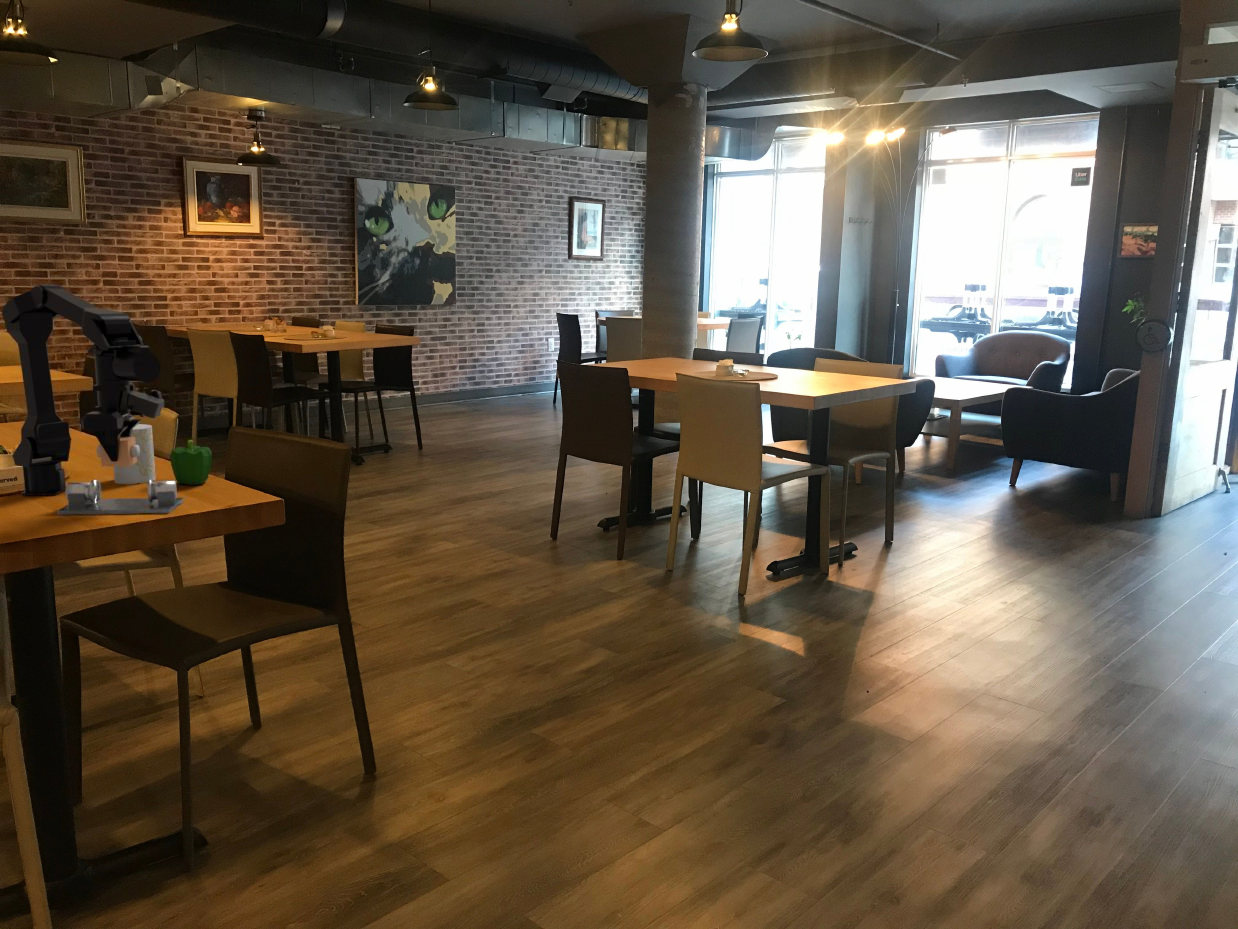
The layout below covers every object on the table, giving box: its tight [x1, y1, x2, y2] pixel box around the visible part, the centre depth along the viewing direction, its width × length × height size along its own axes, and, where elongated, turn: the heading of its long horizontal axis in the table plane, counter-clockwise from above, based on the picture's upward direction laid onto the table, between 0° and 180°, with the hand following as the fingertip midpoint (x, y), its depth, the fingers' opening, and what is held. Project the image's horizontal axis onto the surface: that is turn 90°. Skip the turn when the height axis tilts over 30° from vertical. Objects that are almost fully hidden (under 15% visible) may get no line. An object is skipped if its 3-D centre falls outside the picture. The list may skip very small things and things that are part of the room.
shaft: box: [146, 479, 178, 506], centre depth 191 cm, size 5×5×5 cm
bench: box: [56, 479, 185, 516], centre depth 190 cm, size 20×10×6 cm, turn 99°
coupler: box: [96, 437, 140, 467], centre depth 188 cm, size 7×4×5 cm, turn 99°
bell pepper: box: [169, 439, 213, 486], centre depth 213 cm, size 8×8×10 cm
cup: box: [113, 423, 156, 485], centre depth 214 cm, size 8×8×12 cm
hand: (118, 459), depth 188 cm, fingers closed on coupler, 4 cm apart
